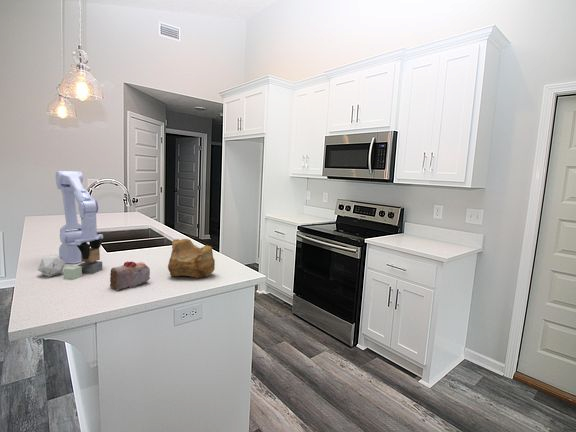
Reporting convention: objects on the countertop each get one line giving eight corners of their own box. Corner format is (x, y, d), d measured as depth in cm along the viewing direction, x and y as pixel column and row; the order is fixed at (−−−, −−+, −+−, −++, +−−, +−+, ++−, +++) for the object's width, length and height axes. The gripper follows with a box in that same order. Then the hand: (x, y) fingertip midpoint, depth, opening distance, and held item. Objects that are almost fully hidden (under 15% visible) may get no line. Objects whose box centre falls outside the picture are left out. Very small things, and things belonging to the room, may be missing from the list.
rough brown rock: (153, 275, 145) (151, 244, 142) (181, 264, 160) (180, 235, 156) (191, 288, 135) (190, 254, 131) (218, 274, 149) (217, 244, 145)
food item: (141, 278, 139) (140, 256, 137) (151, 283, 134) (151, 260, 133) (108, 287, 128) (107, 263, 127) (118, 292, 123) (117, 267, 122)
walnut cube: (81, 261, 143) (80, 250, 142) (89, 258, 148) (89, 248, 147) (91, 262, 142) (91, 251, 141) (99, 259, 147) (99, 248, 146)
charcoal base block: (79, 273, 143) (78, 264, 142) (89, 269, 149) (88, 260, 148) (93, 274, 142) (92, 265, 142) (102, 270, 149) (102, 261, 148)
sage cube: (64, 278, 135) (63, 268, 134) (72, 275, 139) (72, 265, 139) (73, 279, 134) (73, 269, 134) (81, 276, 139) (81, 266, 138)
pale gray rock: (33, 279, 134) (42, 263, 131) (37, 264, 140) (45, 248, 137) (57, 283, 139) (66, 267, 136) (60, 268, 146) (68, 252, 143)
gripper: (84, 231, 135) (86, 262, 137) (108, 225, 149) (109, 254, 151) (69, 229, 136) (71, 261, 138) (94, 224, 150) (96, 252, 152)
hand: (90, 257), depth 145 cm, fingers closed on walnut cube, 5 cm apart
